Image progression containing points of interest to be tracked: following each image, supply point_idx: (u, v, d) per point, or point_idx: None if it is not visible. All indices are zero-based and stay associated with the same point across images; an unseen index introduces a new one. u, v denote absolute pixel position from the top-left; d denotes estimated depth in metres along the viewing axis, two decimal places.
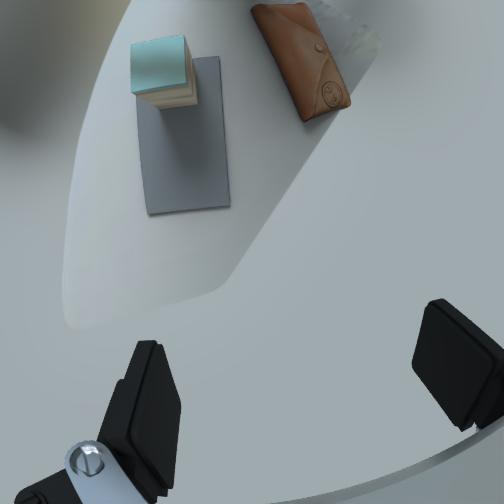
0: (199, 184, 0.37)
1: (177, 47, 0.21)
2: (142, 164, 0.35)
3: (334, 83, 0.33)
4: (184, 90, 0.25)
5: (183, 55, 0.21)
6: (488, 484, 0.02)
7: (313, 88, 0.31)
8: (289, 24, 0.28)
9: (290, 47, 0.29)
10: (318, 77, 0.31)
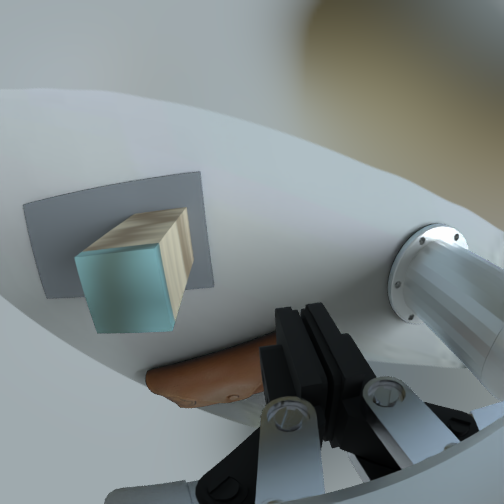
0: (57, 267, 0.27)
1: (148, 324, 0.16)
2: (68, 195, 0.25)
3: (195, 403, 0.32)
4: None
5: (136, 331, 0.16)
6: (488, 484, 0.02)
7: (177, 394, 0.29)
8: (260, 377, 0.29)
9: (226, 378, 0.29)
10: (191, 399, 0.29)
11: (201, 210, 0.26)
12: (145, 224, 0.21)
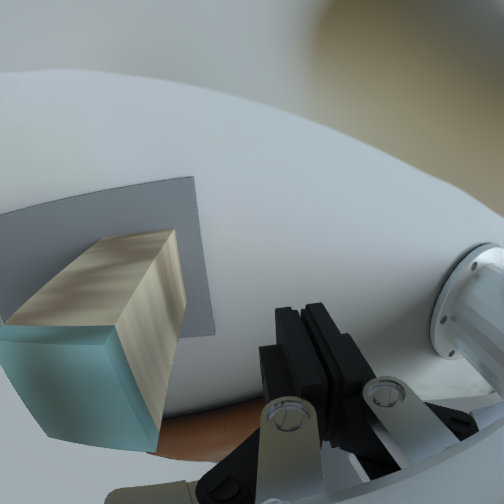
0: (16, 302, 0.19)
1: (116, 441, 0.08)
2: (21, 212, 0.17)
3: None
4: None
5: (101, 445, 0.08)
6: (488, 484, 0.02)
7: (173, 455, 0.21)
8: None
9: (234, 441, 0.21)
10: (191, 460, 0.22)
11: (195, 233, 0.18)
12: (108, 264, 0.13)
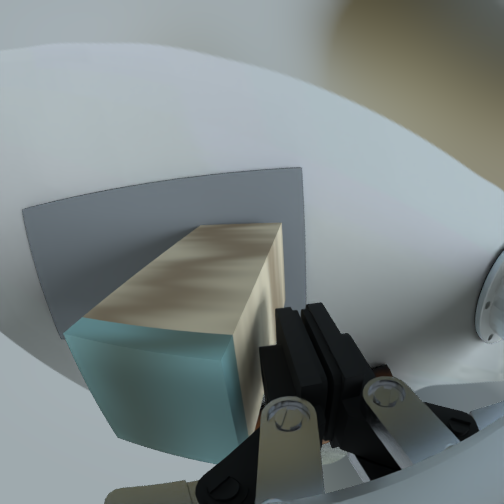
0: (75, 299, 0.19)
1: (202, 454, 0.08)
2: (93, 196, 0.17)
3: None
4: None
5: (180, 455, 0.08)
6: (488, 484, 0.02)
7: None
8: None
9: None
10: None
11: (300, 223, 0.19)
12: (212, 257, 0.12)
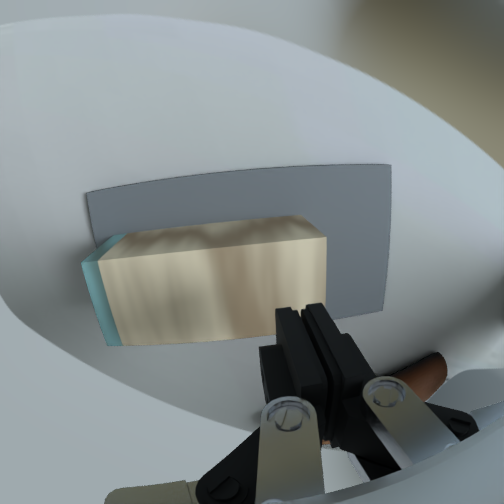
0: None
1: None
2: (184, 180, 0.17)
3: None
4: None
5: None
6: (488, 484, 0.02)
7: None
8: None
9: None
10: None
11: (387, 215, 0.19)
12: (207, 235, 0.15)
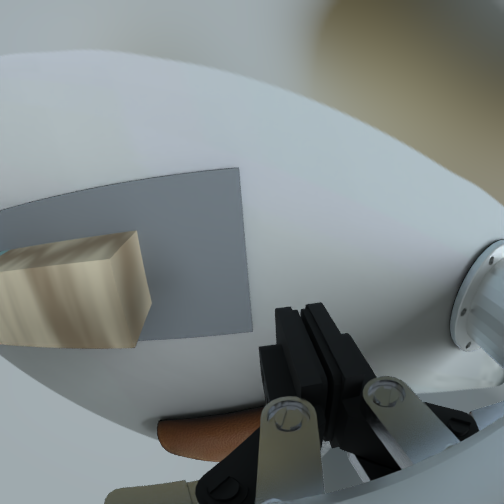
0: None
1: None
2: (40, 203, 0.16)
3: None
4: None
5: None
6: (488, 484, 0.02)
7: (201, 455, 0.21)
8: None
9: None
10: (218, 461, 0.21)
11: (239, 226, 0.18)
12: (42, 254, 0.14)
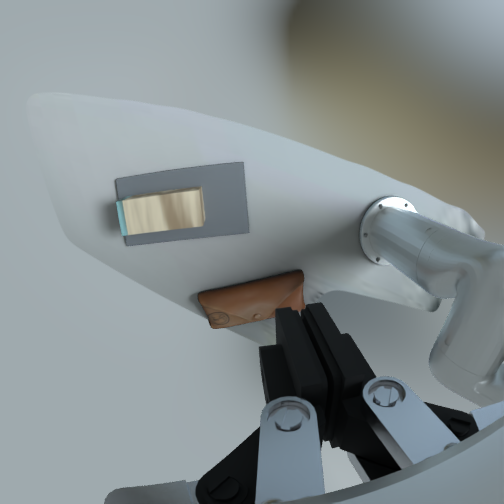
0: None
1: None
2: (155, 173, 0.42)
3: (227, 321, 0.50)
4: None
5: None
6: (488, 484, 0.02)
7: (221, 308, 0.47)
8: (279, 299, 0.48)
9: (257, 297, 0.47)
10: (230, 313, 0.47)
11: (243, 185, 0.44)
12: (161, 193, 0.41)
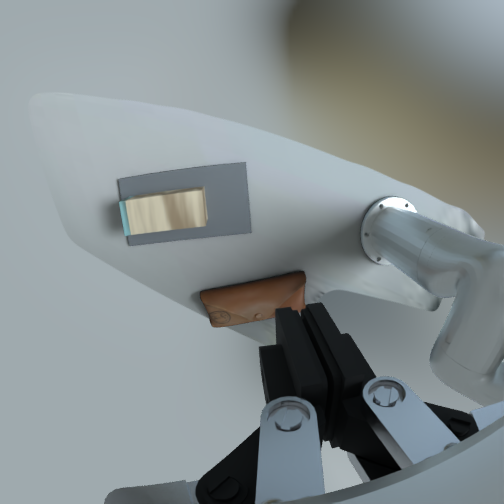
0: None
1: None
2: (158, 174, 0.43)
3: (229, 320, 0.50)
4: None
5: None
6: (488, 484, 0.02)
7: (223, 307, 0.47)
8: (281, 300, 0.48)
9: (260, 297, 0.47)
10: (232, 312, 0.48)
11: (246, 185, 0.44)
12: (164, 193, 0.41)
